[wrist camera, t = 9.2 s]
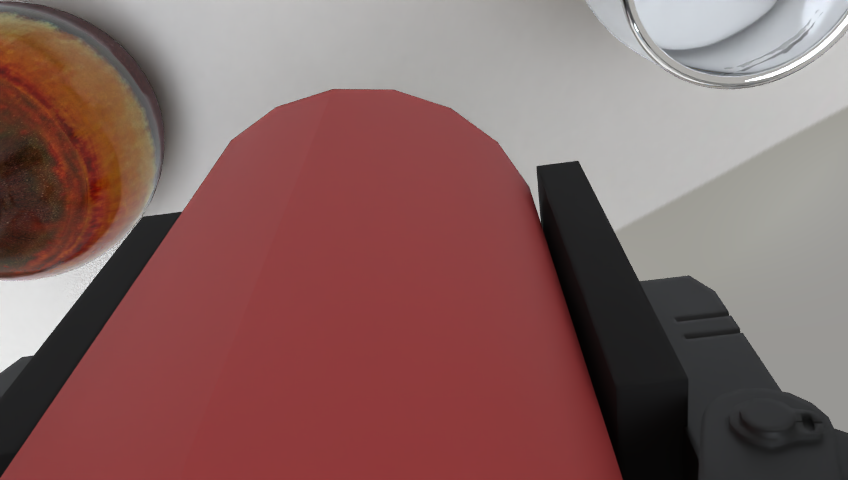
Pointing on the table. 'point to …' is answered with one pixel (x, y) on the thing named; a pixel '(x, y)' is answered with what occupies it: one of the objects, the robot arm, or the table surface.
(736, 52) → the beer glass
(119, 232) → the vase
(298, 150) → the beer can
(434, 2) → the table surface
